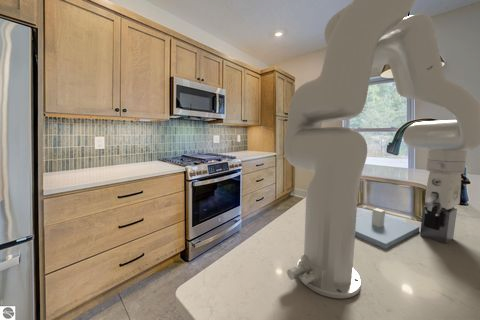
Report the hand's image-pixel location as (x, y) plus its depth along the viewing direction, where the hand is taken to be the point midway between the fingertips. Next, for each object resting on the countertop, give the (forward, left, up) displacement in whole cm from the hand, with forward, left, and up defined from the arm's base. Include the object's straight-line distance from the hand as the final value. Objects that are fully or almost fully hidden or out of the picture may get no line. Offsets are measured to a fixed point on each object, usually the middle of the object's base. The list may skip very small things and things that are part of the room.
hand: (438, 224), depth 58 cm
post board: (-10, +11, -4) cm, 16 cm away
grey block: (0, 0, -4) cm, 4 cm away
